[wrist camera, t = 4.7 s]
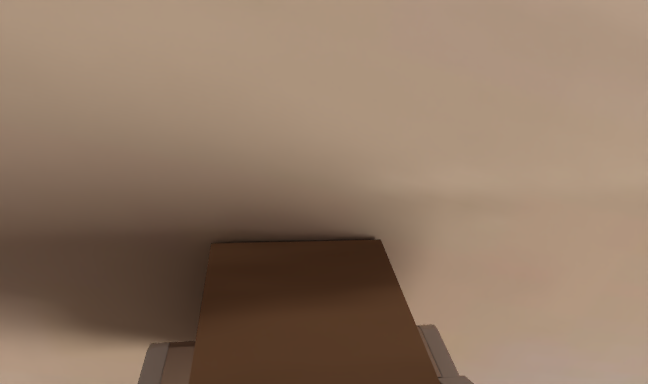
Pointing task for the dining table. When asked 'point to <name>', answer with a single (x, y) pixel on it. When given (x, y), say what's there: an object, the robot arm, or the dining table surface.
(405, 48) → the dining table surface
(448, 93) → the dining table surface
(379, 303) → the cube
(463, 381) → the robot arm
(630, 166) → the dining table surface
